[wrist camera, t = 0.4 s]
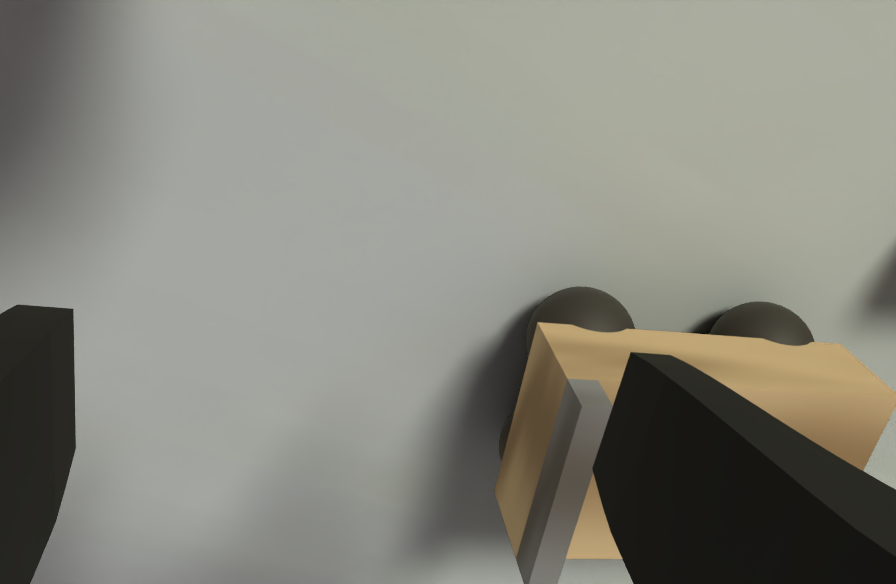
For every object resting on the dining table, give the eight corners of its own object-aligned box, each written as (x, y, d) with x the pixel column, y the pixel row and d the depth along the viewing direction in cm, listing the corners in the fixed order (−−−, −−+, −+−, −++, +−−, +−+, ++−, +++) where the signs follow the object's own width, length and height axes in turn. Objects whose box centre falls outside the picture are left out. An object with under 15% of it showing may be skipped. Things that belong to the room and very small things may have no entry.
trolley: (730, 461, 26) (832, 603, 21) (474, 453, 24) (521, 606, 19) (801, 288, 23) (938, 405, 18) (519, 263, 21) (588, 385, 16)
